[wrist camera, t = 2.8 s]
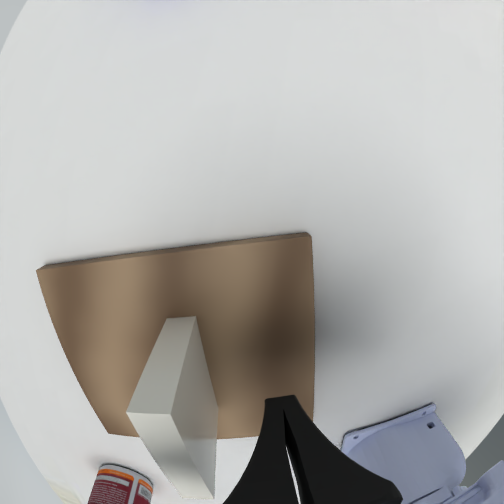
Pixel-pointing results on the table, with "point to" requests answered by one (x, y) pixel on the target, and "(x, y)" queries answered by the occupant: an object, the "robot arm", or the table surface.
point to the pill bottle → (120, 487)
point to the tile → (178, 409)
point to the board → (208, 319)
